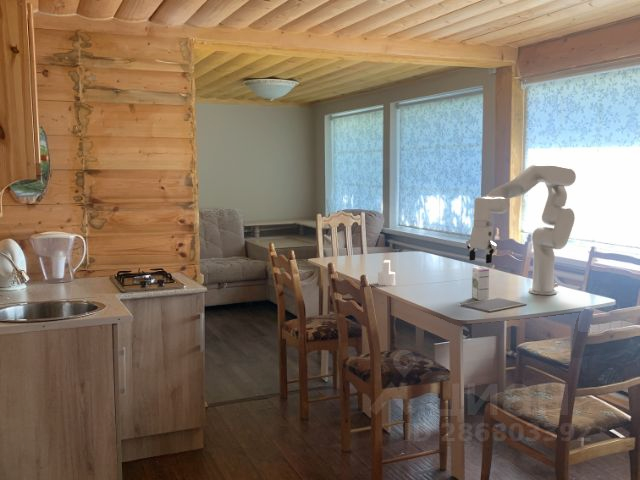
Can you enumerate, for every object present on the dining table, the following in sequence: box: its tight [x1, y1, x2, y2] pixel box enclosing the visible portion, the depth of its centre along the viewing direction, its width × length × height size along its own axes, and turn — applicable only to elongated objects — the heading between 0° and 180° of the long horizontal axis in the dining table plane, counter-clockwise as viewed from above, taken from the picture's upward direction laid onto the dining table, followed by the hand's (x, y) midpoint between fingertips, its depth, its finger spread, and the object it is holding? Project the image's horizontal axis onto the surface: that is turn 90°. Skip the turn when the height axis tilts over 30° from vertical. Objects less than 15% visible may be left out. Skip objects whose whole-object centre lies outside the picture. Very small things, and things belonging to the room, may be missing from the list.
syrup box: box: [471, 266, 490, 301], centre depth 294 cm, size 6×6×14 cm
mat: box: [460, 297, 527, 313], centre depth 280 cm, size 24×16×1 cm, turn 125°
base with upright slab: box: [377, 259, 396, 287], centre depth 329 cm, size 9×9×12 cm
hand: (480, 261), depth 292 cm, fingers open, 9 cm apart
